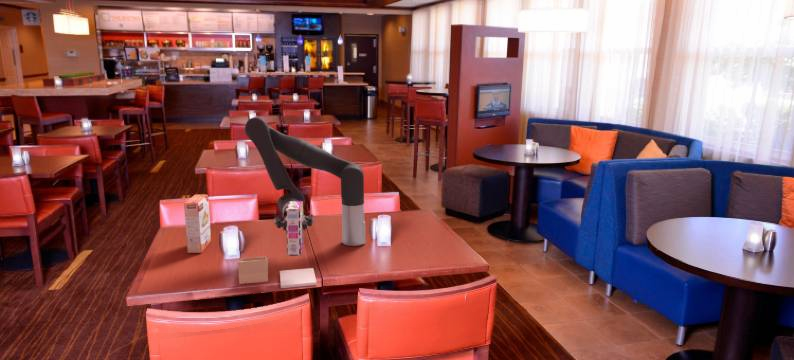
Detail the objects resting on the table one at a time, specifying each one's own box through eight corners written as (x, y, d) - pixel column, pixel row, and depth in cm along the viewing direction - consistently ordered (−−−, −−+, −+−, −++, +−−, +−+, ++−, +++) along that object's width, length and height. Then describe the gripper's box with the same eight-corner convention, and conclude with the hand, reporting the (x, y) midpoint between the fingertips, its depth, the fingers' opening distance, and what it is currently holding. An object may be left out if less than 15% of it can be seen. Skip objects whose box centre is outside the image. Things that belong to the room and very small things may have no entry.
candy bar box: (301, 256, 181) (300, 209, 177) (286, 256, 180) (284, 209, 176) (304, 244, 191) (303, 200, 188) (290, 244, 191) (288, 200, 187)
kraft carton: (267, 261, 204) (266, 241, 202) (268, 281, 186) (266, 259, 184) (241, 263, 202) (240, 243, 200) (239, 284, 184) (237, 262, 182)
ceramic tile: (313, 270, 196) (313, 268, 195) (316, 285, 183) (316, 282, 183) (279, 273, 193) (279, 270, 193) (280, 288, 181) (280, 285, 180)
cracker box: (202, 253, 212) (198, 202, 207) (187, 254, 211) (182, 203, 207) (212, 241, 225) (208, 193, 221) (197, 242, 225) (193, 193, 220)
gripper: (272, 204, 195) (273, 218, 179) (312, 202, 198) (316, 216, 182) (273, 224, 197) (274, 239, 181) (312, 221, 200) (316, 236, 184)
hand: (295, 227), depth 181 cm, fingers closed on candy bar box, 5 cm apart
